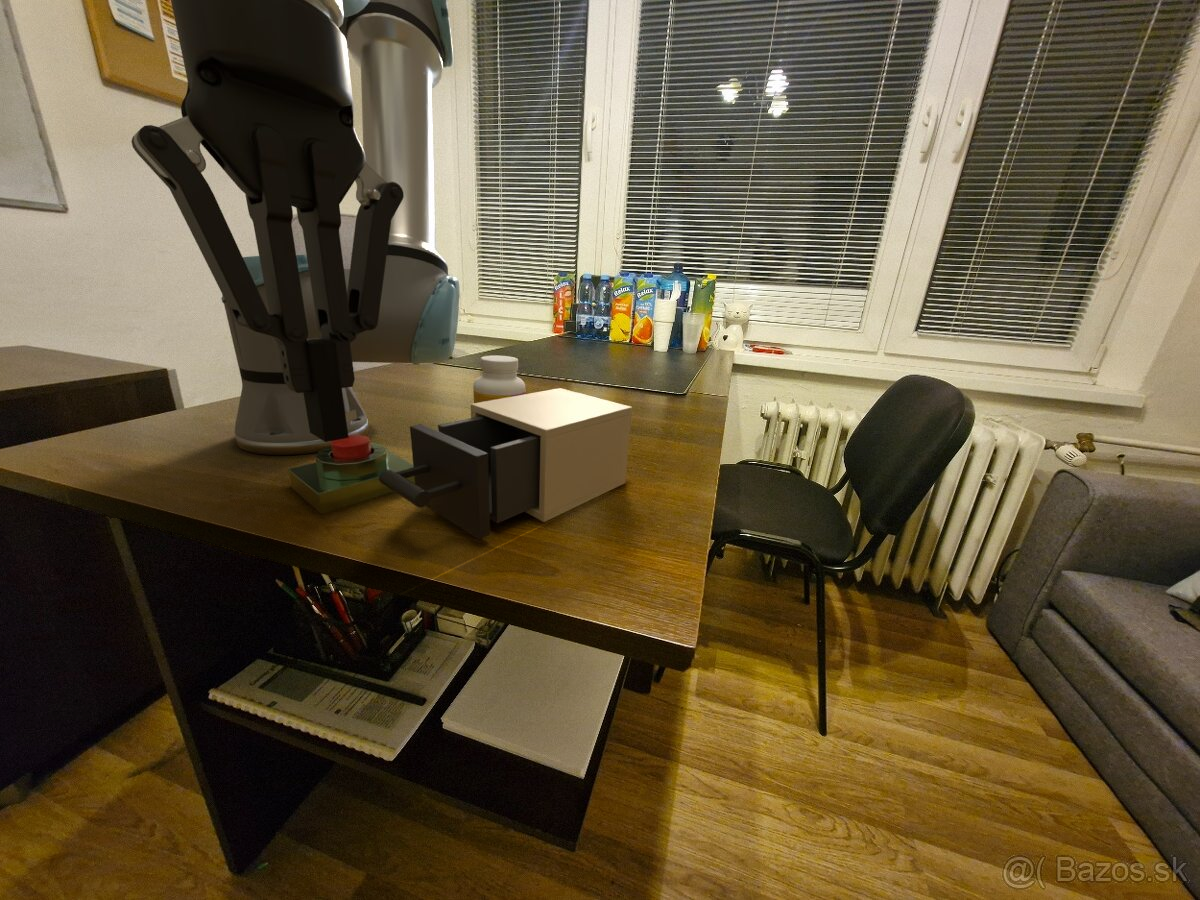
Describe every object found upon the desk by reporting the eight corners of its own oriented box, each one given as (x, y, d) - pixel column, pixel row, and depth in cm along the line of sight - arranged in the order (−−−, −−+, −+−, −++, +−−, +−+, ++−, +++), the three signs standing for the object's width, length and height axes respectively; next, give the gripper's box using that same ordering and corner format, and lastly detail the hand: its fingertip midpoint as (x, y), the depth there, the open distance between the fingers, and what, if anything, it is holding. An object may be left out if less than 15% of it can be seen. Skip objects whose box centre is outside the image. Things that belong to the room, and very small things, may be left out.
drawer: (433, 560, 35) (426, 470, 32) (372, 514, 41) (362, 435, 38) (576, 495, 47) (579, 427, 44) (513, 467, 53) (512, 405, 51)
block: (291, 487, 47) (284, 452, 45) (384, 464, 54) (381, 433, 53) (321, 514, 42) (314, 476, 41) (419, 484, 49) (416, 451, 48)
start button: (327, 455, 46) (325, 439, 46) (362, 447, 49) (360, 432, 48) (342, 464, 44) (339, 448, 44) (377, 456, 47) (376, 440, 46)
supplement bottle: (514, 464, 56) (513, 364, 52) (466, 457, 57) (462, 359, 53) (531, 447, 63) (533, 357, 58) (488, 441, 64) (486, 352, 59)
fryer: (544, 522, 43) (546, 430, 40) (473, 485, 50) (470, 403, 47) (625, 483, 53) (632, 406, 50) (557, 456, 60) (559, 387, 57)
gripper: (81, -120, 16) (227, 475, 24) (418, 45, 26) (442, 430, 34) (68, -40, 20) (195, 441, 28) (360, 75, 30) (393, 409, 38)
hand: (329, 434), depth 31 cm, fingers closed
